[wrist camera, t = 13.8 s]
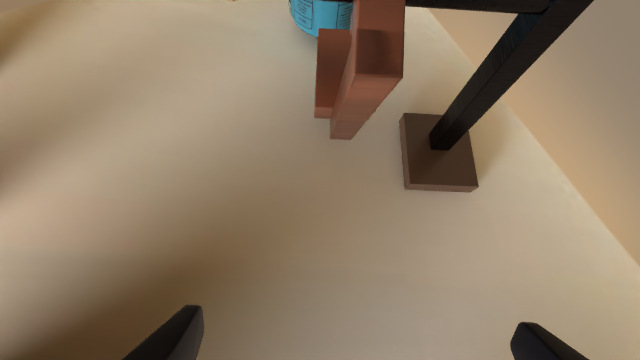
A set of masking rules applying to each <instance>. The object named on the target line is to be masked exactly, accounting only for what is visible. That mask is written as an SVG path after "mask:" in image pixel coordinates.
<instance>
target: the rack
mask: <svg viewBox="0 0 640 360" xmlns="http://www.w3.org/2000/svg"><path fill="white" fill-rule="evenodd" d="M228 1H237V0H228ZM315 1H330V2H346V3H353V0H315ZM593 1H594V0H405V6H408V7H423V8H439V9H456V10H470V11H485V12H501V13H516V14H518V15H517V17H516V18H515V20H514V21H513V22H512V23H511V25H510V26H509V27H508V29H507V30H506V31H505V33H504V34H503V36H502V37H501V38H500V39H499V41H498V42H497V43H496V45H495V46H494V48H493V49H492V50H491V51H490V53H489V54H488V56H487V57H486V58H485V60H484V61H483V62H482V64H481V65H480V66H479V68H478V69H477V70H476V72H475V73H474V74H473V76H472V77H471V78H470V80H469V81H468V82H467V84H466V85H465V86H464V88H463V89H462V90H461V92H460V93H459V94H458V96H457V97H456V98H455V100H454V101H453V102H452V104H451V105H450V106H449V108H448V109H447V110H446V112H445V113H444V114H443V115H434V114H415V113H403V115H402V117H401V119H400V121H399V123H400V135H401V148H402V160H403V172H404V185H405V189H407V190H429V191H452V192H472V191H473V190H475V189H476V188H478V187H479V186H478V180H477V175H476V169H475V164H474V158H473V152H472V147H471V141H470V136H469V129H470V128H471V127H472V126H473V125H474V124H475V123H476V122H477V121H478V120H479V119H480V118H481V117H482V116H483V115H484V114H485V113H486V112H487V111H488V110H489V109H490V108H491V107H492V105H493V104H494V103H495V102H496V101H497V100H498V99H499V98H500V97H501V96H502V95H503V94H504V93H505V92H506V91H507V90H508V89H509V88H510V87H511V86H512V85H513V84H514V83H515V82H516V81H517V80H518V79H519V77H520V76H521V75H522V74H523V73H524V72H525V71H526V70H527V69H528V68H529V67H530V66H531V65H532V64H533V63H534V62H535V61H536V60H537V59H538V58H539V57H540V56H541V55H542V54H543V53H544V52H545V51H546V49H547V48H548V47H549V46H550V45H551V44H552V43H553V42H554V41H555V40H556V39H557V38H558V37H559V36H560V35H561V34H562V33H563V32H564V31H565V30H566V29H567V28H568V27H569V26H570V24H572V23H573V22H574V20H575V19H576V18H577V17H578V16H579V15H580V14H581V13H582V12H583V11H584V10H585V9H586V8H587V7H588V6H589V5H590V4H591V3H592V2H593Z"/></svg>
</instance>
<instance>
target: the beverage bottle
mask: <svg viewBox="0 0 640 360" xmlns="http://www.w3.org/2000/svg"><path fill="white" fill-rule="evenodd" d="M289 2H290V5H291V9H290V10H291V12H290V13H292V14H291V15H292V17H293V18H294V21H295V22H296V24H297V25H298V26H299V27H300V28H301V29H302V30H303V31H305V32H307V33H308V34H311V35H313V36H317V37H318V29H319V28H328V29H344V30H350V23H351V14H352V10H353V3H346V2H330V1H315V0H289ZM289 2H288V3H289ZM290 5H289V6H290Z"/></svg>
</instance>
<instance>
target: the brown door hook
mask: <svg viewBox="0 0 640 360" xmlns="http://www.w3.org/2000/svg"><path fill="white" fill-rule="evenodd" d="M404 24H405V0H353V10H352V14H351V23H350V30H344V29H328V28H319V29H318V43H317V65H316V87H315V109H314V117H315V118H327V119H330V137H329V138H330V139H342V140H351V139H352V138H353V136H354V135H355V134H356V133H357V132H358V130H359V129H360V128H361V127H362V126H363V124H364V123H365V122H366V121H367V120H368V119H369V118H370V117H371V116H372V114H373V113H374V112H375V111H376V109H377V108H378V107H379V105H380V104H381V103H382V102H383V101H384V99H385V98H386V97H387V96H388V95H389V93H390V92H391V91H392V90H393V89H394V87H395V86H396V85H397V84H398V83H399V81H400V80H401V79H402V78H403V59H404Z"/></svg>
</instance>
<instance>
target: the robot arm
mask: <svg viewBox="0 0 640 360" xmlns="http://www.w3.org/2000/svg"><path fill="white" fill-rule="evenodd" d="M203 334H204V319H203V310H202V307H201V306H200V305H186V306H184V307H183V308H181V309H180V310H179V311H178V312H177V313H176V314H174V315H173V316H172V317H171V318H170V319H168V320H167V321H166V322H165V323H164V324H163V325H161V326H160V327H159V328H158V329H157V330H155V331H154V332H153V333H152V334H151V335H150V336H148V337H147V338H146V339H145V340H144V341H143V342H141V343H140V344H139V345H138V346H137V347H135V348H134V349H133V350H132V351H131V352H130V353H128V354H127V355H126V356H125V357H124V358H122V359H121V360H196V358H197V355H198V352H199V348H200V345H201V341H202V338H203ZM510 347H511V351H512V354H513V356H514V359H515V360H589V359H587V358H586V357H585V356H583V355H582V354H580V353H579V352H577V351H576V350H574V349H573V348H572V347H570V346H569V345H567V344H566V343H564V342H563V341H562V340H560V339H559V338H557V337H556V336H554V335H553V334H552V333H550V332H549V331H547V330H546V329H544V328H543V327H541V326H540V325H538V324H537V323H532V322H521V323H519V324H518V326H517V328H516V331H515V333H514V335H513V337H512V339H511V343H510Z"/></svg>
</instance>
